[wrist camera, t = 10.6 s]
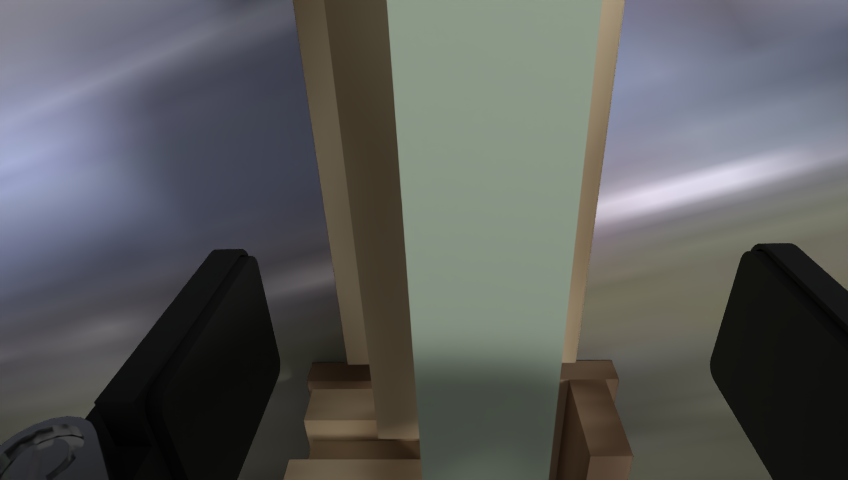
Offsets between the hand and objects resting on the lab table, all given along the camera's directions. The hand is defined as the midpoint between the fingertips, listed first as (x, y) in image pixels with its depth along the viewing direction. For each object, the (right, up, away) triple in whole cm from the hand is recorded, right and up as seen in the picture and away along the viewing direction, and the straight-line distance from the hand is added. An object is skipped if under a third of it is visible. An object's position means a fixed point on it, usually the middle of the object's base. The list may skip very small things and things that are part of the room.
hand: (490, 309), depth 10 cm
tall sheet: (0, +5, +8) cm, 9 cm away
